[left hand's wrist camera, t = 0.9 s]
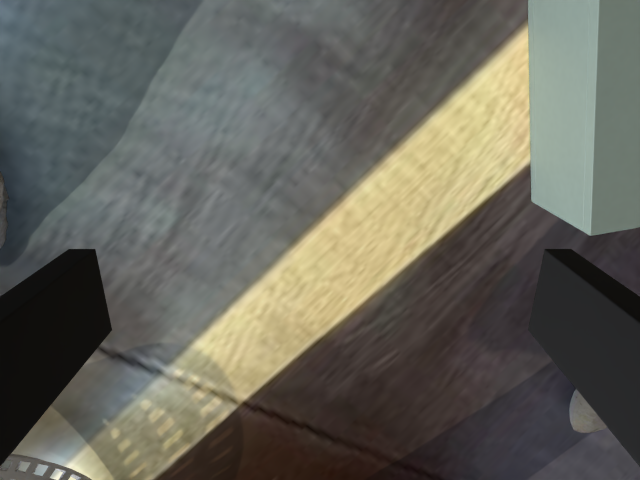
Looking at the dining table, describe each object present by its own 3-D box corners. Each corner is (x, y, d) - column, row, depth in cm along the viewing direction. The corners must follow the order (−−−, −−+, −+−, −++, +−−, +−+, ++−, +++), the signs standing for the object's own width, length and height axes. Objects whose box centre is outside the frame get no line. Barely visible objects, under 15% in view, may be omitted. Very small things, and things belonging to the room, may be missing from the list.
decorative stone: (692, 322, 43) (722, 342, 40) (588, 427, 48) (607, 452, 44) (647, 297, 42) (674, 315, 39) (545, 406, 47) (562, 430, 43)
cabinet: (527, -6, 32) (599, -34, 24) (668, -36, 32) (793, -76, 23) (531, 201, 38) (590, 236, 30) (649, 179, 38) (744, 208, 29)
